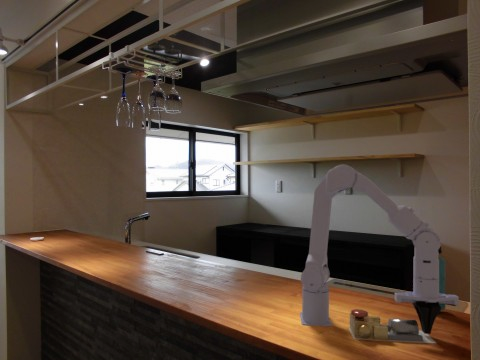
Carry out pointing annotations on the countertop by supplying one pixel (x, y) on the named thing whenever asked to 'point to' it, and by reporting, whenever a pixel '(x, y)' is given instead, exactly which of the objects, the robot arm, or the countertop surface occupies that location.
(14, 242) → the countertop surface
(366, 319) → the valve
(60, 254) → the countertop surface
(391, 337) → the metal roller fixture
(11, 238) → the countertop surface
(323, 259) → the robot arm
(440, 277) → the beverage bottle
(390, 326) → the metal cylinder
